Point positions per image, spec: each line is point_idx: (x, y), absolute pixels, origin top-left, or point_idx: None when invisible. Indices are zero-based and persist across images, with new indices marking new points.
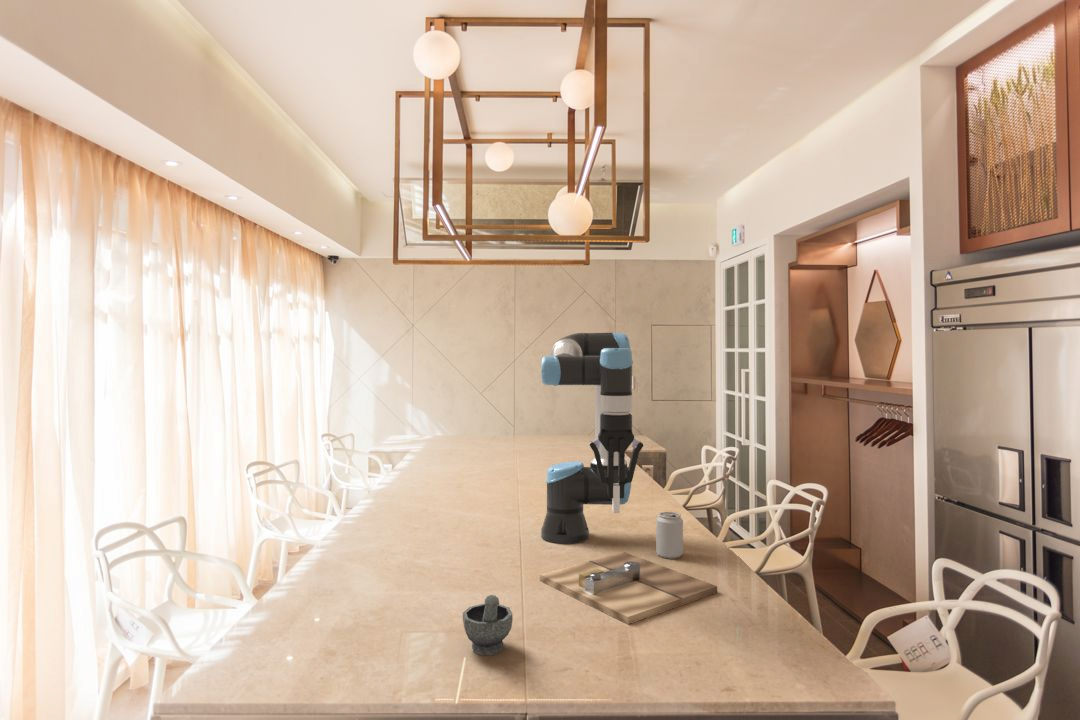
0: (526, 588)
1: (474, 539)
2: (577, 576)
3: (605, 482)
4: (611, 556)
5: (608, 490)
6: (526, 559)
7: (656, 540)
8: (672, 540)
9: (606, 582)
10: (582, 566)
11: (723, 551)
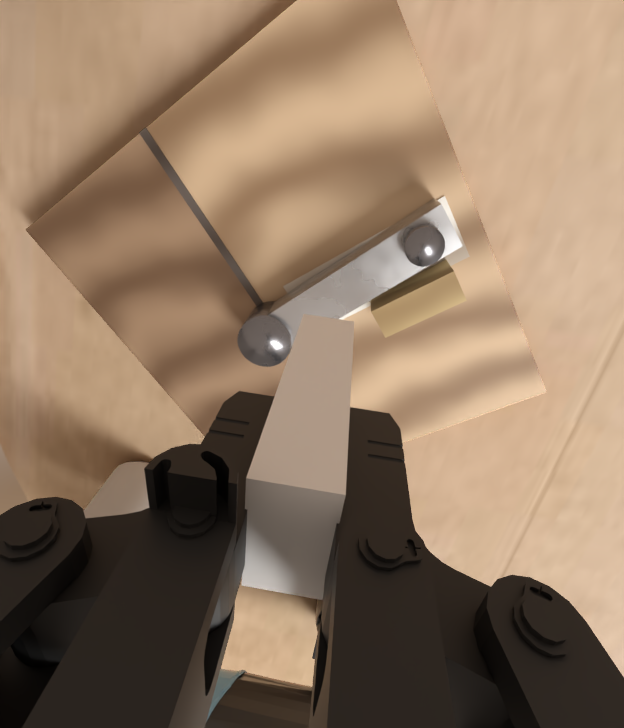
0: (606, 331)
1: (596, 633)
2: (435, 360)
3: (467, 584)
4: None
5: (404, 474)
6: (516, 515)
7: None
8: (117, 494)
9: (379, 239)
10: None
11: (21, 480)
